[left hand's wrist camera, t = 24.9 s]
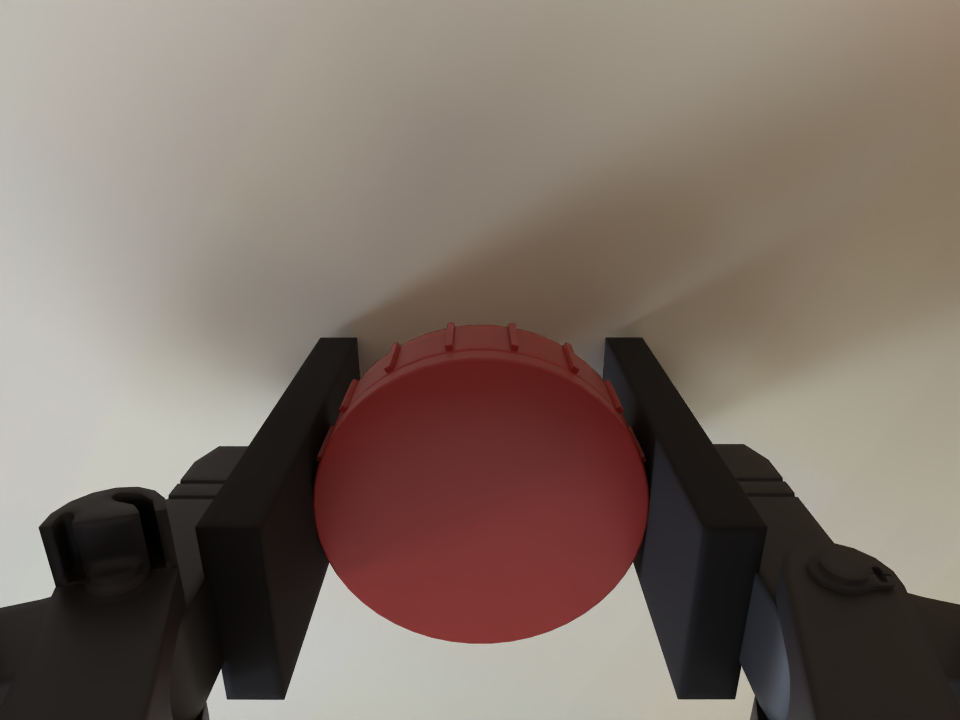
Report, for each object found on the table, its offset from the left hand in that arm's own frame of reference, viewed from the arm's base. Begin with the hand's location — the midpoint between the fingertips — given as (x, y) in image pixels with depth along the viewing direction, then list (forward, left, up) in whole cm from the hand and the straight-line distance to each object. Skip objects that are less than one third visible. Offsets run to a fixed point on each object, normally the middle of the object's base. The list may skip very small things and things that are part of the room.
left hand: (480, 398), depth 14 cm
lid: (0, 0, +4) cm, 4 cm away
